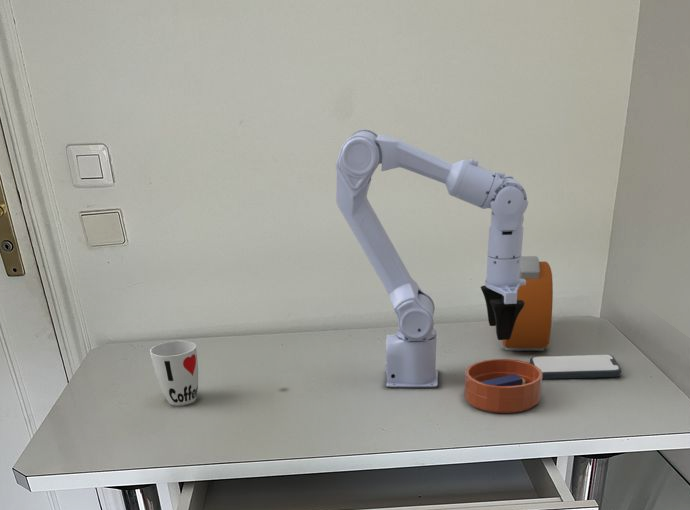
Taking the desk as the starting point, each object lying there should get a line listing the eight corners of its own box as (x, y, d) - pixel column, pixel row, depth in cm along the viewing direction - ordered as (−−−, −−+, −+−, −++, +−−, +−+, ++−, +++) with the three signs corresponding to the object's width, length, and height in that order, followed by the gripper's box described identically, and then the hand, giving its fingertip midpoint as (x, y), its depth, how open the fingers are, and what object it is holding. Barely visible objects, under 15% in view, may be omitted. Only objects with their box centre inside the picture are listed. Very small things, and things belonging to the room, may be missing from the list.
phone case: (534, 381, 137) (622, 378, 135) (535, 373, 136) (623, 370, 135) (528, 364, 144) (611, 361, 143) (529, 356, 143) (612, 353, 142)
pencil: (481, 403, 127) (482, 387, 126) (473, 398, 129) (474, 382, 128) (529, 392, 131) (530, 377, 129) (520, 387, 133) (522, 372, 131)
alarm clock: (500, 320, 167) (504, 244, 158) (540, 320, 166) (547, 244, 157) (503, 356, 147) (508, 273, 139) (548, 357, 146) (557, 272, 137)
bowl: (465, 414, 125) (466, 387, 122) (463, 384, 136) (464, 358, 134) (543, 414, 124) (546, 387, 121) (535, 384, 135) (538, 358, 132)
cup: (166, 412, 130) (156, 359, 125) (155, 397, 136) (145, 346, 131) (210, 402, 133) (201, 350, 128) (197, 388, 140) (188, 337, 134)
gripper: (537, 264, 119) (530, 344, 126) (518, 244, 131) (512, 318, 138) (494, 266, 119) (490, 346, 126) (479, 246, 131) (475, 320, 138)
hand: (499, 332), depth 132 cm, fingers open, 7 cm apart
